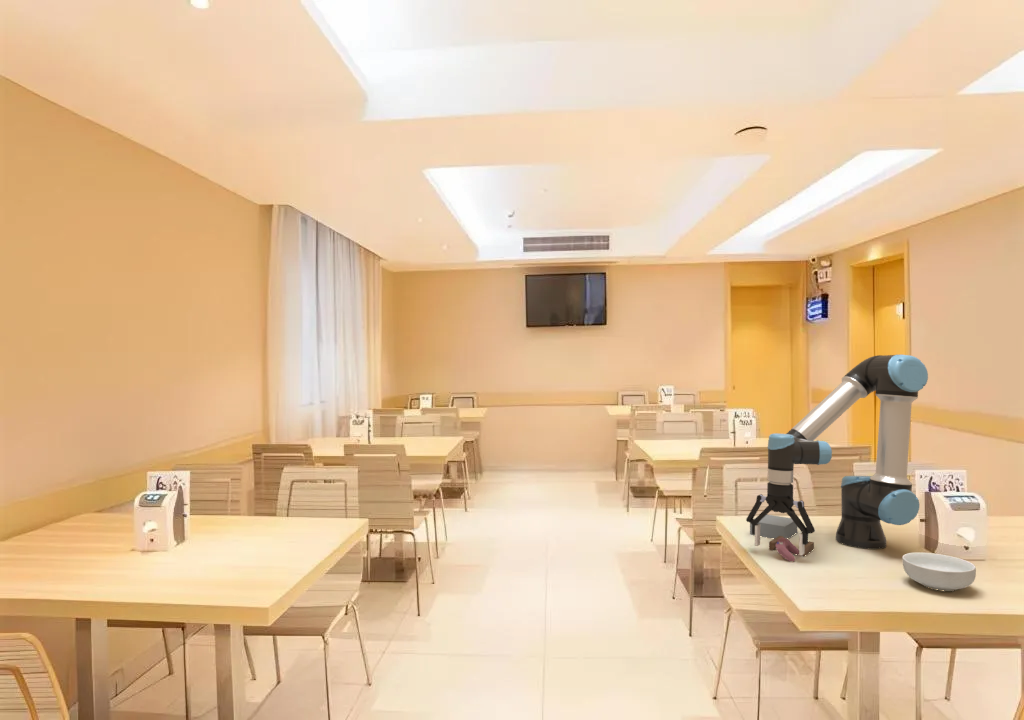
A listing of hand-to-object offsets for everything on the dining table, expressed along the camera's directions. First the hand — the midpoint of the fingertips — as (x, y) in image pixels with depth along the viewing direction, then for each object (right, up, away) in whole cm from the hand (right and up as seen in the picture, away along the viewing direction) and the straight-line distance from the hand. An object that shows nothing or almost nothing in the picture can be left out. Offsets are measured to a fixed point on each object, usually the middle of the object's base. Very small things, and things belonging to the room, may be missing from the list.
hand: (779, 549), depth 193 cm
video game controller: (+3, -3, 0) cm, 4 cm away
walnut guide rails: (+8, -3, +8) cm, 12 cm away
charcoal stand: (+10, -3, +27) cm, 29 cm away
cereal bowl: (+33, -3, -25) cm, 41 cm away
